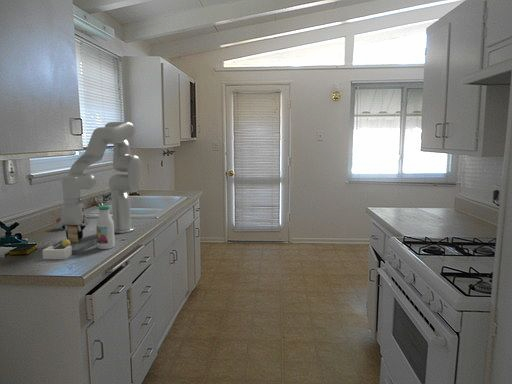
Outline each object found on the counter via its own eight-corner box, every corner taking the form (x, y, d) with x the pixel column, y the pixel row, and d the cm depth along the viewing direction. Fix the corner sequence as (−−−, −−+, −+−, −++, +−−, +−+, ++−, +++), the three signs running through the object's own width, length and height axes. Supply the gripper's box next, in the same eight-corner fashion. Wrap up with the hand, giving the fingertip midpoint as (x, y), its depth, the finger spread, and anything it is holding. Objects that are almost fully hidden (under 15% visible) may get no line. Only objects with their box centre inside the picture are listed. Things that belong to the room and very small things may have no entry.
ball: (64, 245, 181) (63, 238, 180) (72, 245, 181) (71, 238, 180) (60, 248, 177) (60, 240, 177) (68, 248, 177) (68, 240, 177)
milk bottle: (109, 244, 191) (107, 204, 188) (118, 246, 186) (115, 205, 183) (94, 247, 185) (91, 206, 182) (103, 250, 180) (100, 208, 177)
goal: (51, 254, 174) (50, 245, 174) (72, 254, 174) (71, 245, 174) (43, 259, 168) (42, 250, 167) (65, 259, 168) (64, 250, 167)
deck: (61, 244, 190) (61, 240, 190) (92, 244, 190) (92, 240, 190) (44, 254, 174) (44, 250, 174) (78, 254, 174) (78, 250, 174)
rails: (59, 245, 182) (59, 244, 182) (79, 245, 182) (79, 243, 182) (50, 250, 174) (50, 248, 174) (71, 250, 174) (71, 248, 174)
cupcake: (68, 230, 219) (67, 209, 217) (53, 230, 219) (51, 209, 217) (75, 226, 228) (74, 206, 226) (60, 226, 228) (59, 206, 226)
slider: (72, 240, 190) (70, 223, 189) (81, 240, 190) (80, 223, 189) (68, 242, 186) (67, 225, 184) (77, 242, 186) (76, 225, 185)
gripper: (93, 200, 189) (95, 236, 191) (58, 200, 189) (60, 236, 191) (86, 202, 181) (89, 240, 184) (50, 203, 181) (53, 241, 184)
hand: (74, 238), depth 187 cm, fingers closed on slider, 4 cm apart
